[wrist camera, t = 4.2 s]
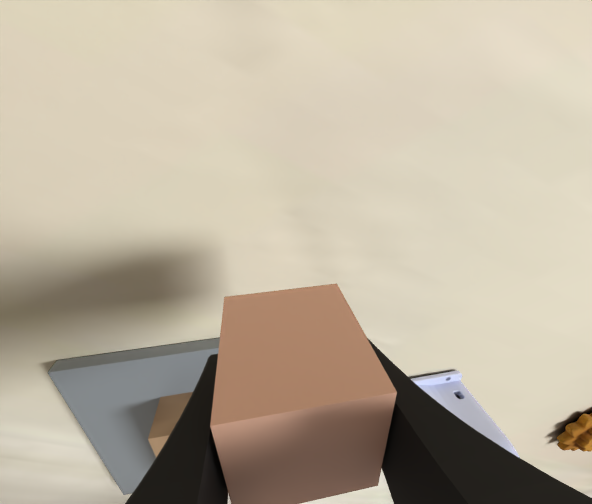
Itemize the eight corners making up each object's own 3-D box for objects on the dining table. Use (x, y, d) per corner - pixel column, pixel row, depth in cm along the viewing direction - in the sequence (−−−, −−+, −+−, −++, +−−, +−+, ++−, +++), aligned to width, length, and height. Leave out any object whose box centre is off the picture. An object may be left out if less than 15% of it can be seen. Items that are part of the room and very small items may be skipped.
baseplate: (339, 321, 21) (343, 329, 20) (332, 440, 29) (335, 450, 28) (56, 360, 19) (47, 372, 18) (127, 481, 26) (123, 494, 25)
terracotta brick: (336, 283, 11) (396, 391, 7) (333, 362, 13) (377, 485, 9) (224, 296, 11) (210, 426, 6) (238, 377, 13) (235, 518, 8)
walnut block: (267, 379, 21) (271, 416, 19) (274, 439, 25) (277, 477, 22) (160, 397, 20) (147, 439, 18) (183, 457, 24) (175, 499, 21)
